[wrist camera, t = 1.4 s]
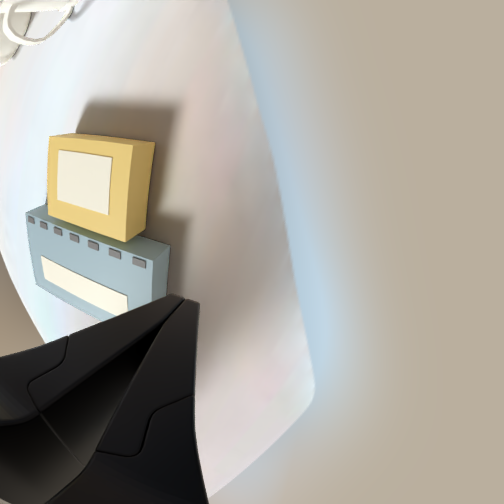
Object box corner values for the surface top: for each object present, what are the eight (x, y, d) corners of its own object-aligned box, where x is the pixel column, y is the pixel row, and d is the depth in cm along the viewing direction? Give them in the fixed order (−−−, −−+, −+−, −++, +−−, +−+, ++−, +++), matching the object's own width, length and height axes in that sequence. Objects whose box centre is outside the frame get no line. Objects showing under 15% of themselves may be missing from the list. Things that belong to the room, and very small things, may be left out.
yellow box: (145, 229, 18) (124, 242, 16) (69, 205, 19) (47, 214, 16) (155, 142, 16) (132, 145, 13) (72, 133, 16) (48, 136, 14)
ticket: (164, 325, 22) (151, 344, 19) (51, 273, 23) (35, 284, 20) (170, 245, 18) (152, 261, 16) (44, 204, 19) (24, 213, 17)
